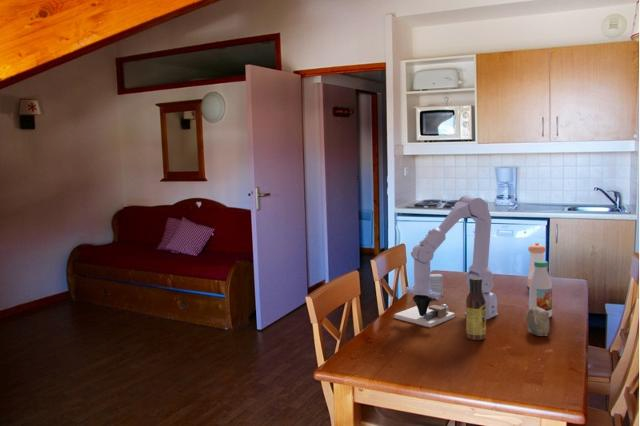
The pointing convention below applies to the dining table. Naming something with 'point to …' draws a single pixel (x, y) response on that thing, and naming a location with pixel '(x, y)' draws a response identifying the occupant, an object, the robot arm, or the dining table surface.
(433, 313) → the steel link
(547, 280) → the milk bottle
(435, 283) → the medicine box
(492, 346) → the dining table surface
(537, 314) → the grey rock
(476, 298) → the sauce bottle
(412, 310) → the board
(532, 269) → the orange-capped bottle
